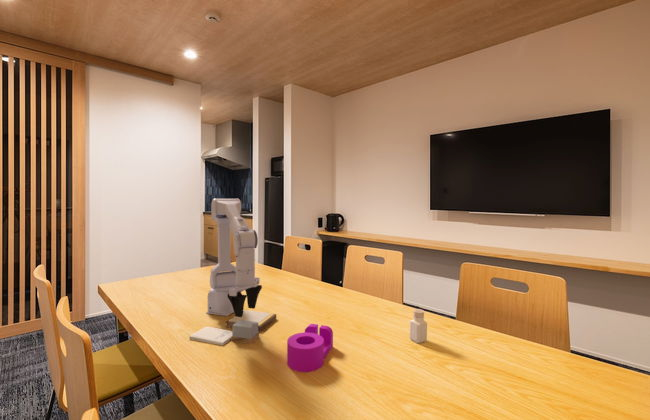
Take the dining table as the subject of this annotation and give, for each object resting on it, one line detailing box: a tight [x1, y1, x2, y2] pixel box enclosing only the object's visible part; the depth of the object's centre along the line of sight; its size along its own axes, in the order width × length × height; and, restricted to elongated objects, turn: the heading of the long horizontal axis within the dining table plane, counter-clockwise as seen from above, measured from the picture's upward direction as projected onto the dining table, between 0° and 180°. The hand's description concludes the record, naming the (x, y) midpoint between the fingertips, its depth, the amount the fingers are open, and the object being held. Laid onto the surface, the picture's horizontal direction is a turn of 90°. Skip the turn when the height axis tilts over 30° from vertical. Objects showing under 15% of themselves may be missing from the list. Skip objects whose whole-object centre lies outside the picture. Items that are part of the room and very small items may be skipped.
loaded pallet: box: [231, 320, 260, 345], centre depth 101 cm, size 7×5×5 cm, turn 73°
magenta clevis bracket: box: [286, 323, 334, 373], centre depth 90 cm, size 16×10×6 cm, turn 160°
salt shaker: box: [409, 308, 428, 344], centre depth 101 cm, size 4×4×10 cm
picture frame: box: [225, 309, 277, 333], centre depth 114 cm, size 13×12×2 cm
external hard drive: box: [188, 325, 232, 347], centre depth 102 cm, size 2×8×12 cm
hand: (245, 312), depth 100 cm, fingers open, 7 cm apart
